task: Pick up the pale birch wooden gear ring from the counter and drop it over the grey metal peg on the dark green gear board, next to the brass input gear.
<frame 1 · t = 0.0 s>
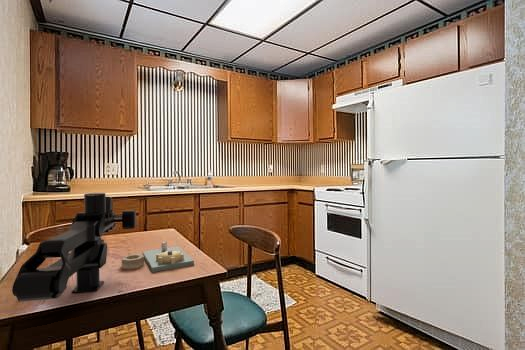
hand: (113, 216, 109), 17 cm above the table, tool horizontal, fingers open, 9 cm apart
gear: (133, 265, 103), on the table
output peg: (164, 256, 113), resting on gear board
candle: (94, 252, 121), on the table
gear board: (166, 259, 110), on the table
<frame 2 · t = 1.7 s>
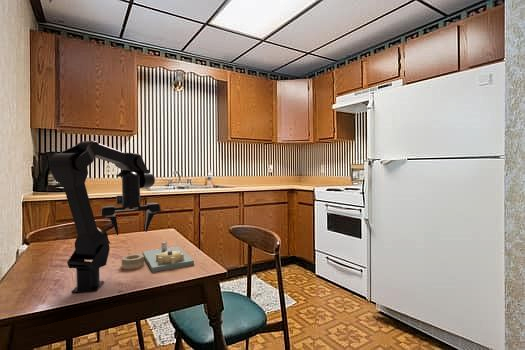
hand: (132, 233, 103), 11 cm above the table, tool pointing down, fingers open, 9 cm apart
nothing on the table moved.
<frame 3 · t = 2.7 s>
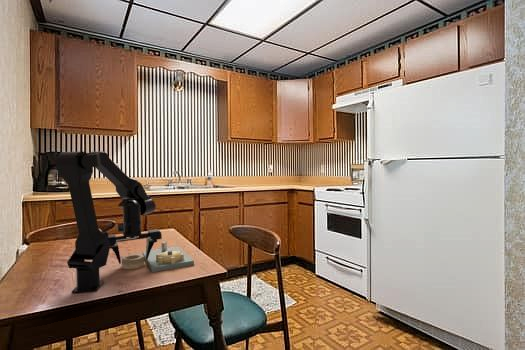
hand: (133, 261, 104), 1 cm above the table, tool pointing down, fingers open, 8 cm apart
nothing on the table moved.
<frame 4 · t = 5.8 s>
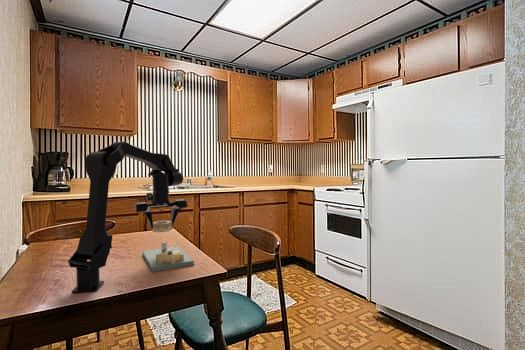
hand: (162, 227, 113), 12 cm above the table, tool pointing down, fingers closed on gear, 7 cm apart
gear: (162, 230, 113), point 10 cm above the table, touching gripper
everything else where it was.
when the fingers open (3 cm above the table, at t = 8.4 s): gear stays where it is, resting on gear board.
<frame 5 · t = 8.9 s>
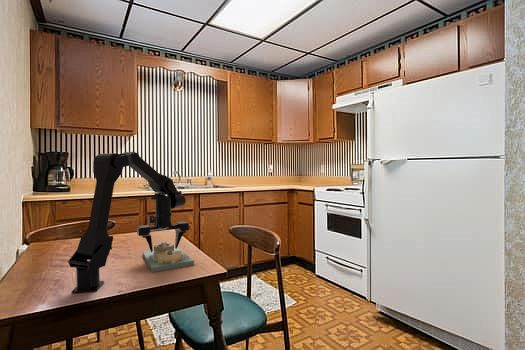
hand: (164, 250, 113), 3 cm above the table, tool pointing down, fingers open, 9 cm apart
gear: (164, 252, 113), point 1 cm above the table, touching gear board
everything else where it was.
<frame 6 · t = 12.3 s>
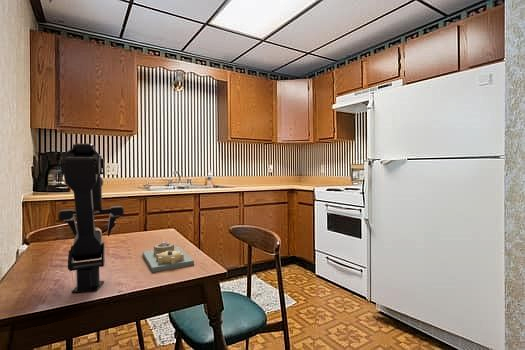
hand: (93, 237, 99), 11 cm above the table, tool pointing down, fingers open, 9 cm apart
nothing on the table moved.
at the end: gear 0.1 cm from the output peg (horizontally); gear point 1.5 cm above the table; the gripper is holding nothing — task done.
